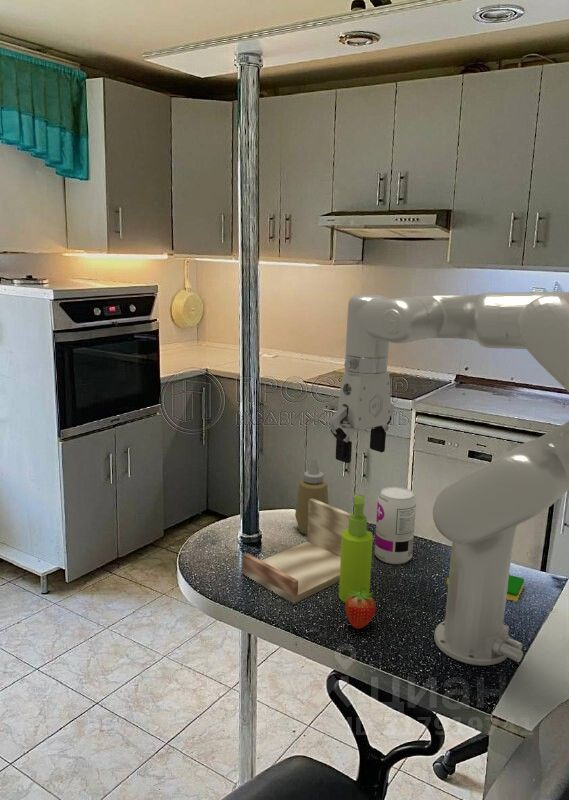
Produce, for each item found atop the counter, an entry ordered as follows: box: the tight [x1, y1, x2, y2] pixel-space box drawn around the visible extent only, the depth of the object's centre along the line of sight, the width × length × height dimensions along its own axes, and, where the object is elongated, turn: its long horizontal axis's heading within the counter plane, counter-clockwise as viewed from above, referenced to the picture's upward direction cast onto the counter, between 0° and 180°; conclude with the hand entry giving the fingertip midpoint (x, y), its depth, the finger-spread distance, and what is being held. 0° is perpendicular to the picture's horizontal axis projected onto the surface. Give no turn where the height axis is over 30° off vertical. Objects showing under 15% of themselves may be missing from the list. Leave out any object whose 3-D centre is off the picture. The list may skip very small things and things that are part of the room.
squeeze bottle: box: [294, 457, 330, 536], centre depth 155 cm, size 8×8×18 cm
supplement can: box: [374, 486, 417, 565], centre depth 143 cm, size 8×8×15 cm
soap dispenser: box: [338, 494, 374, 604], centre depth 126 cm, size 6×7×20 cm
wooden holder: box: [242, 498, 353, 605], centre depth 136 cm, size 15×20×12 cm
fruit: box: [344, 588, 377, 630], centre depth 117 cm, size 5×5×8 cm
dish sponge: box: [446, 572, 525, 602], centre depth 134 cm, size 7×14×2 cm, turn 61°
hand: (360, 455), depth 122 cm, fingers open, 9 cm apart
